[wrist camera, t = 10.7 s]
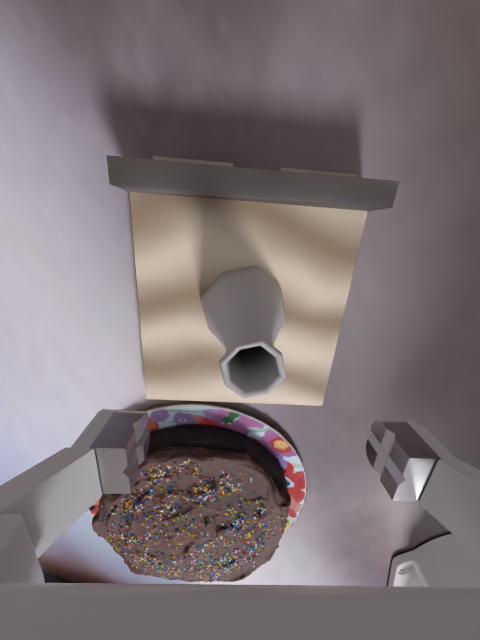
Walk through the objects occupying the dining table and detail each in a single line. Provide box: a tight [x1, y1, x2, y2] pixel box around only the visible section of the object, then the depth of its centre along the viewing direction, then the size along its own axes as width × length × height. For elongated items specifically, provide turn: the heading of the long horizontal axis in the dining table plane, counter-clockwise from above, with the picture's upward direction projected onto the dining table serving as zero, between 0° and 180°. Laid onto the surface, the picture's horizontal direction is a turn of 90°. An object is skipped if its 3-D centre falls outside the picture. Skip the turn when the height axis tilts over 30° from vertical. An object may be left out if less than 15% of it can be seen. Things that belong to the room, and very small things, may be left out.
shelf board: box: [107, 156, 399, 406], centre depth 20 cm, size 20×18×4 cm
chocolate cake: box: [89, 403, 307, 582], centre depth 28 cm, size 28×28×7 cm
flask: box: [200, 266, 286, 399], centre depth 16 cm, size 7×7×10 cm
